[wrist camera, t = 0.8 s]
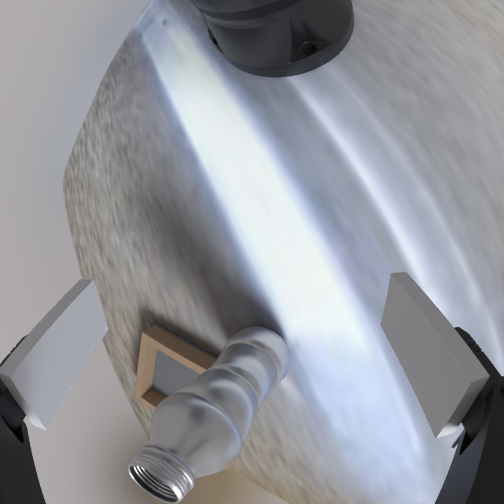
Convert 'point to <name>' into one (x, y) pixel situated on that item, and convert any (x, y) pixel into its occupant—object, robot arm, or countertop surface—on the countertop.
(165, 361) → the tray
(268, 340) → the silver metal bottle
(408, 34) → the countertop surface
